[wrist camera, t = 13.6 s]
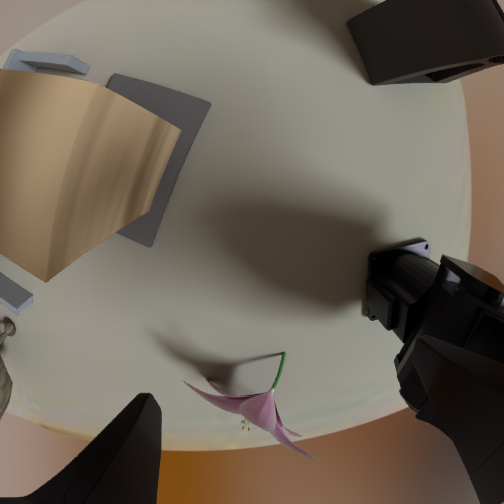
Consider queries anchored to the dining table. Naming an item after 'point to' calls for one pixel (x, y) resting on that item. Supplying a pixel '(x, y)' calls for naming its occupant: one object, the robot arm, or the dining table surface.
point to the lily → (255, 410)
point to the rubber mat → (189, 121)
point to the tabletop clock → (5, 373)
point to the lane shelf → (3, 287)
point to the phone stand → (429, 39)
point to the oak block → (72, 167)
